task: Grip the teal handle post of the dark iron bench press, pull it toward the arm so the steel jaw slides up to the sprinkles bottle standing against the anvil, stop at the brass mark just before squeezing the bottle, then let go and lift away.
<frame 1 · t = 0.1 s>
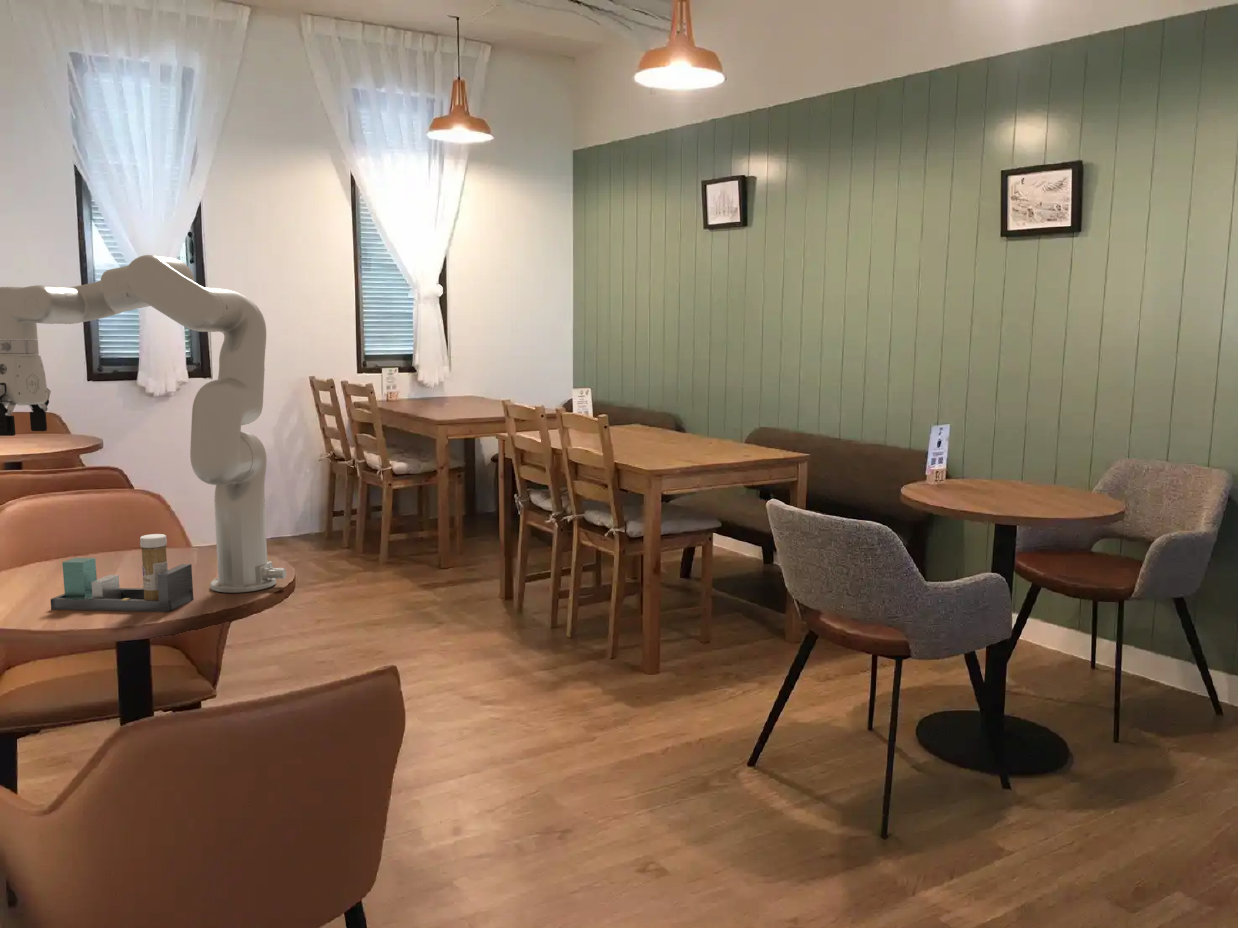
hand: (23, 433, 205), 31 cm above the table, tool pointing down, fingers open, 9 cm apart
press carriage: (90, 580, 192), point 4 cm above the table, slide at 0.0 cm
sprinkles bottle: (157, 606, 191), resting in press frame
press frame: (123, 604, 192), on the table
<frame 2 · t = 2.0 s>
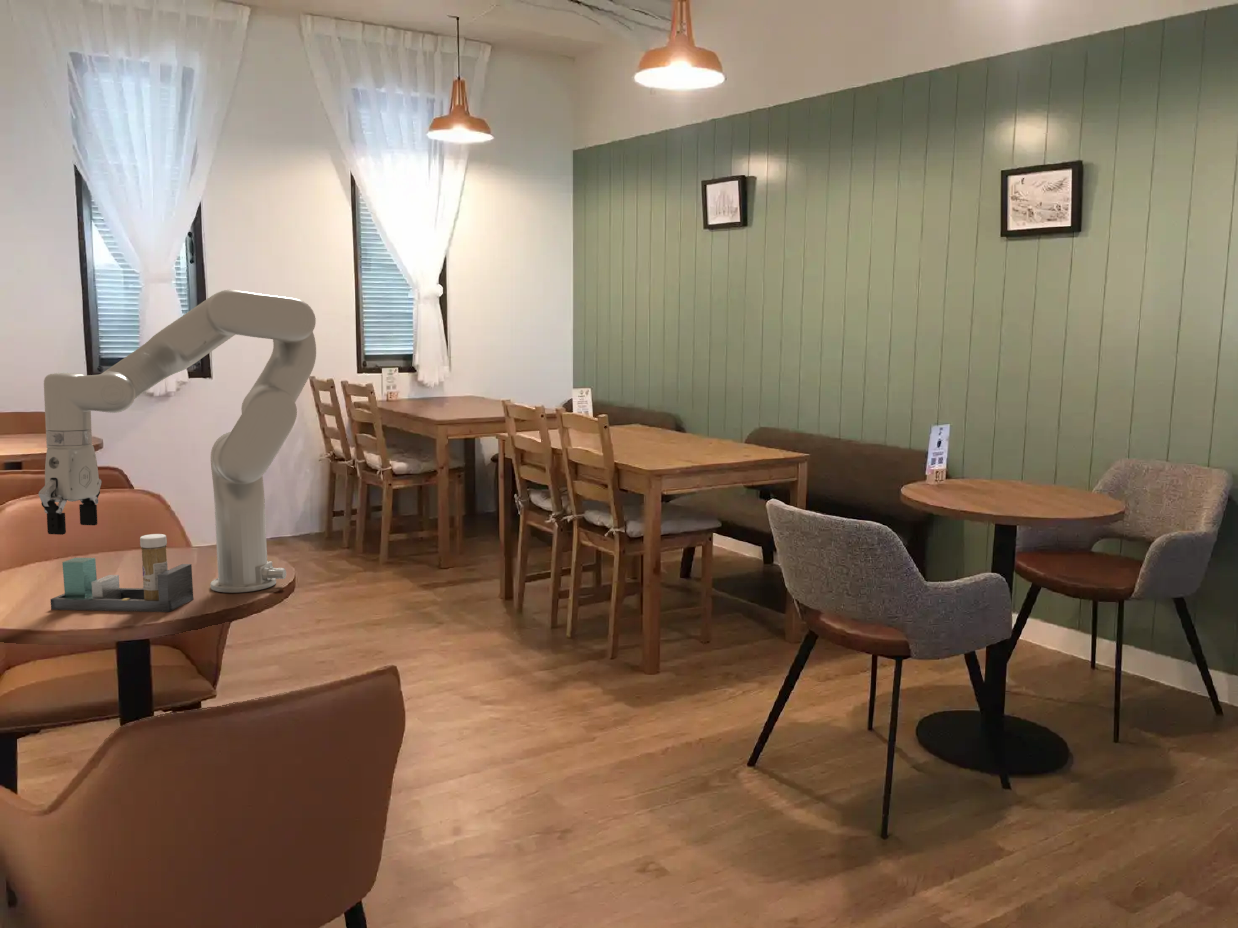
hand: (73, 529, 190), 14 cm above the table, tool pointing down, fingers open, 9 cm apart
nothing on the table moved.
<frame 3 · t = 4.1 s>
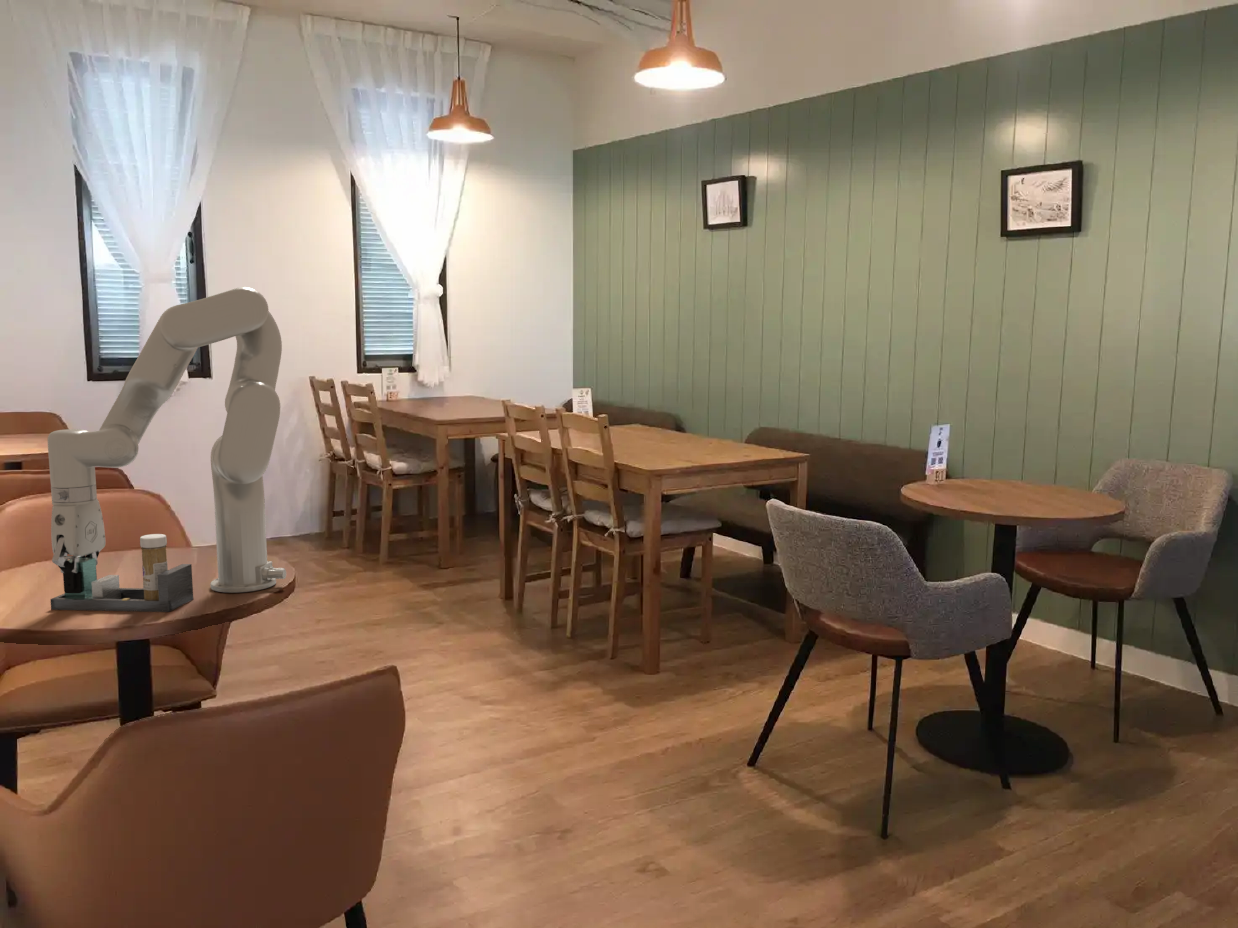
hand: (81, 588, 192), 3 cm above the table, tool pointing down, fingers closed on press carriage, 4 cm apart
press carriage: (90, 580, 192), point 5 cm above the table, slide at 0.0 cm, touching gripper
everything else where it was.
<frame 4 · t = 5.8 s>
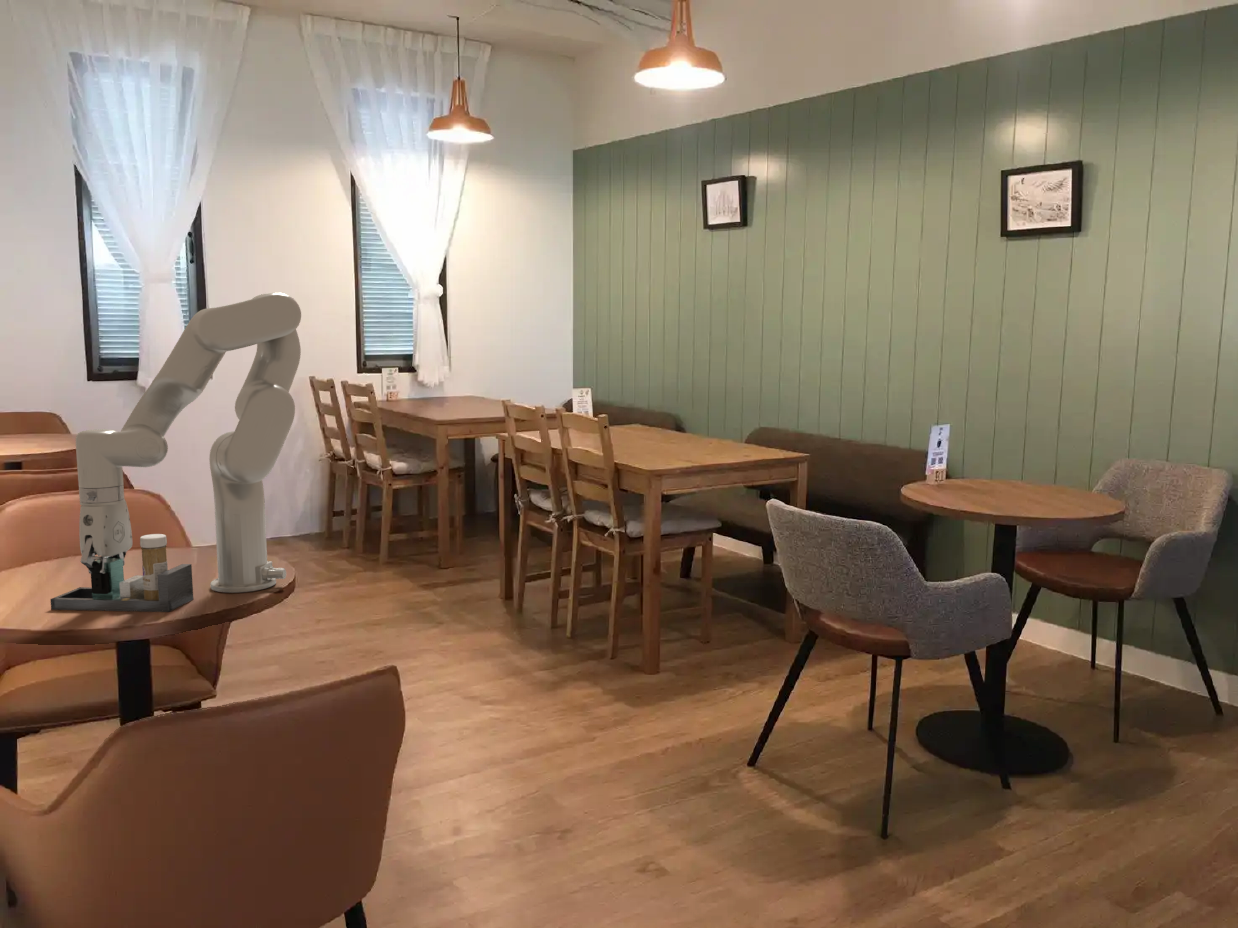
hand: (108, 589, 192), 3 cm above the table, tool pointing down, fingers closed on press carriage, 4 cm apart
press carriage: (117, 581, 191), point 4 cm above the table, slide at 5.5 cm, touching gripper
everything else where it was.
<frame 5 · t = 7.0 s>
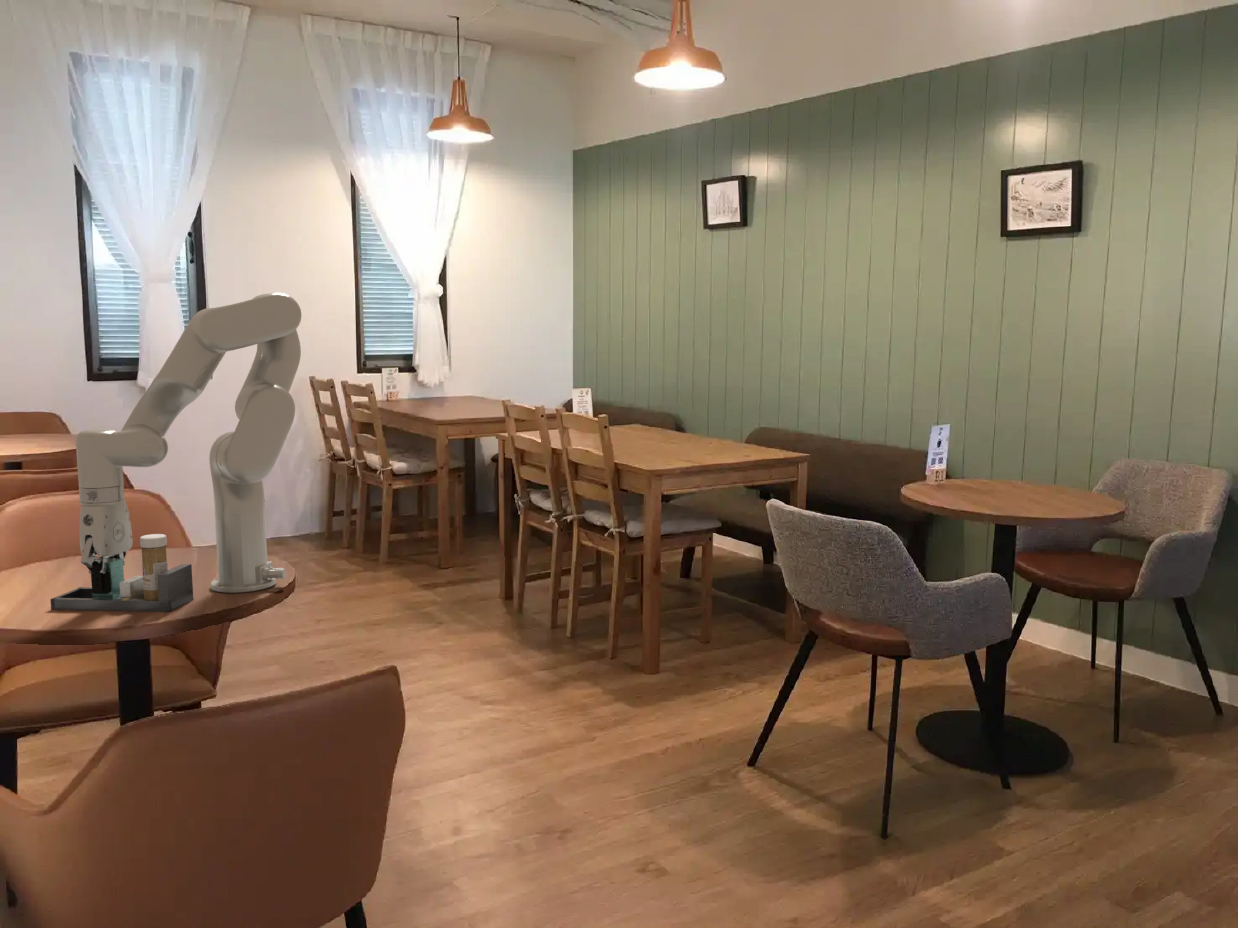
hand: (108, 589, 192), 3 cm above the table, tool pointing down, fingers closed on press carriage, 4 cm apart
press carriage: (118, 581, 191), point 5 cm above the table, slide at 5.5 cm, touching gripper
everything else where it was.
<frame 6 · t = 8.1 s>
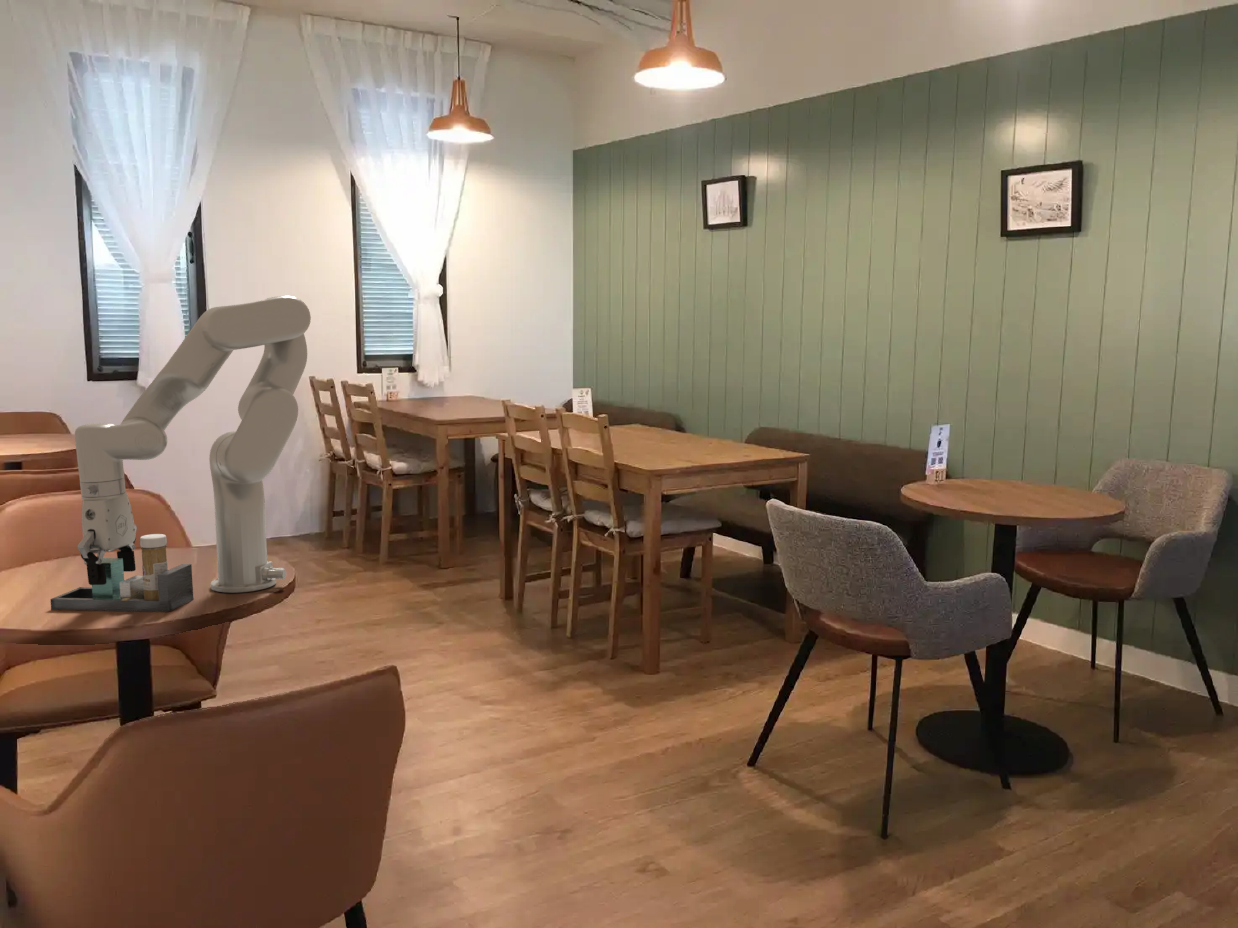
hand: (112, 577, 192), 5 cm above the table, tool pointing down, fingers open, 9 cm apart
press carriage: (118, 581, 191), point 4 cm above the table, slide at 5.5 cm
everything else where it was.
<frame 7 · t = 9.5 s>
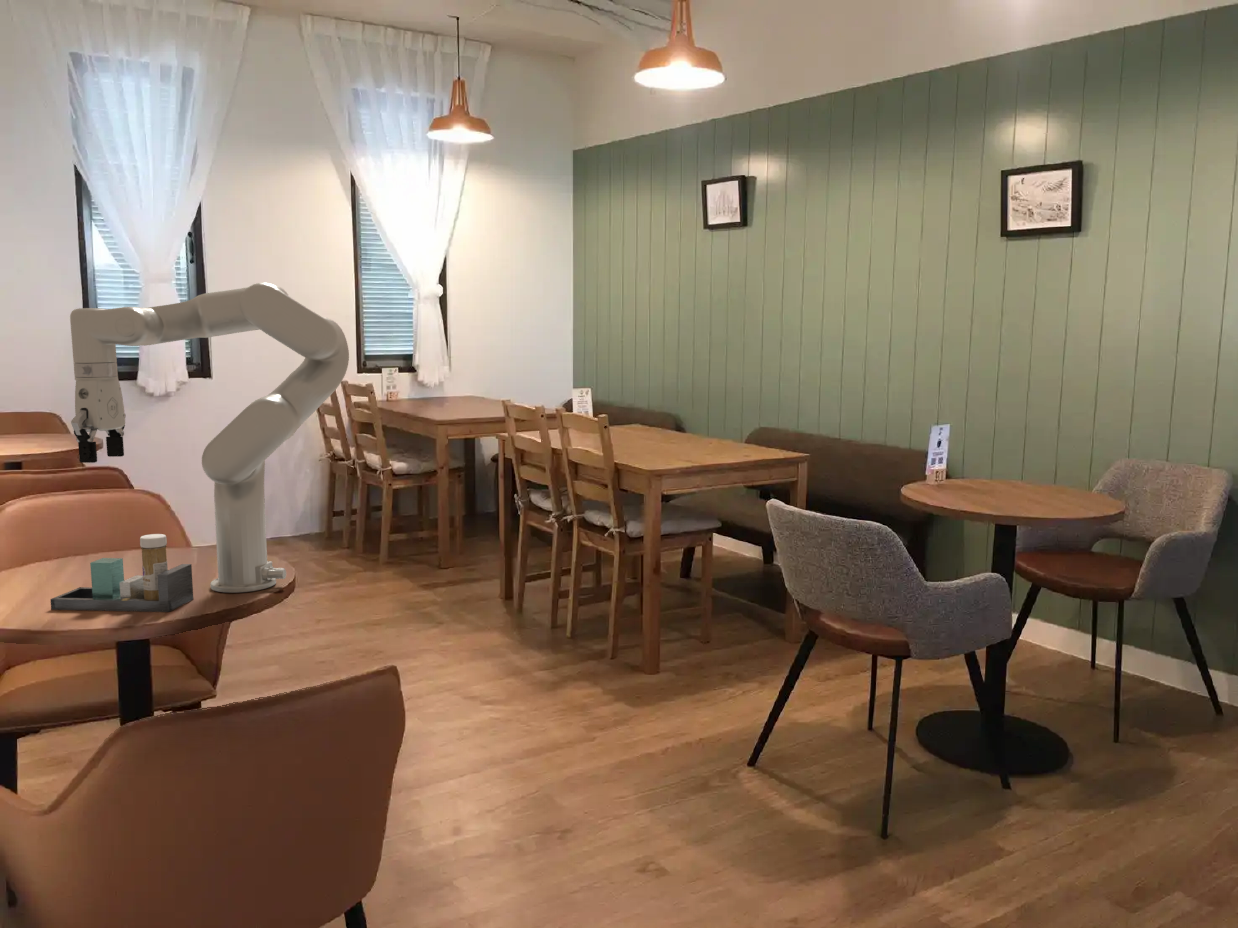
hand: (102, 459, 198), 27 cm above the table, tool pointing down, fingers open, 9 cm apart
nothing on the table moved.
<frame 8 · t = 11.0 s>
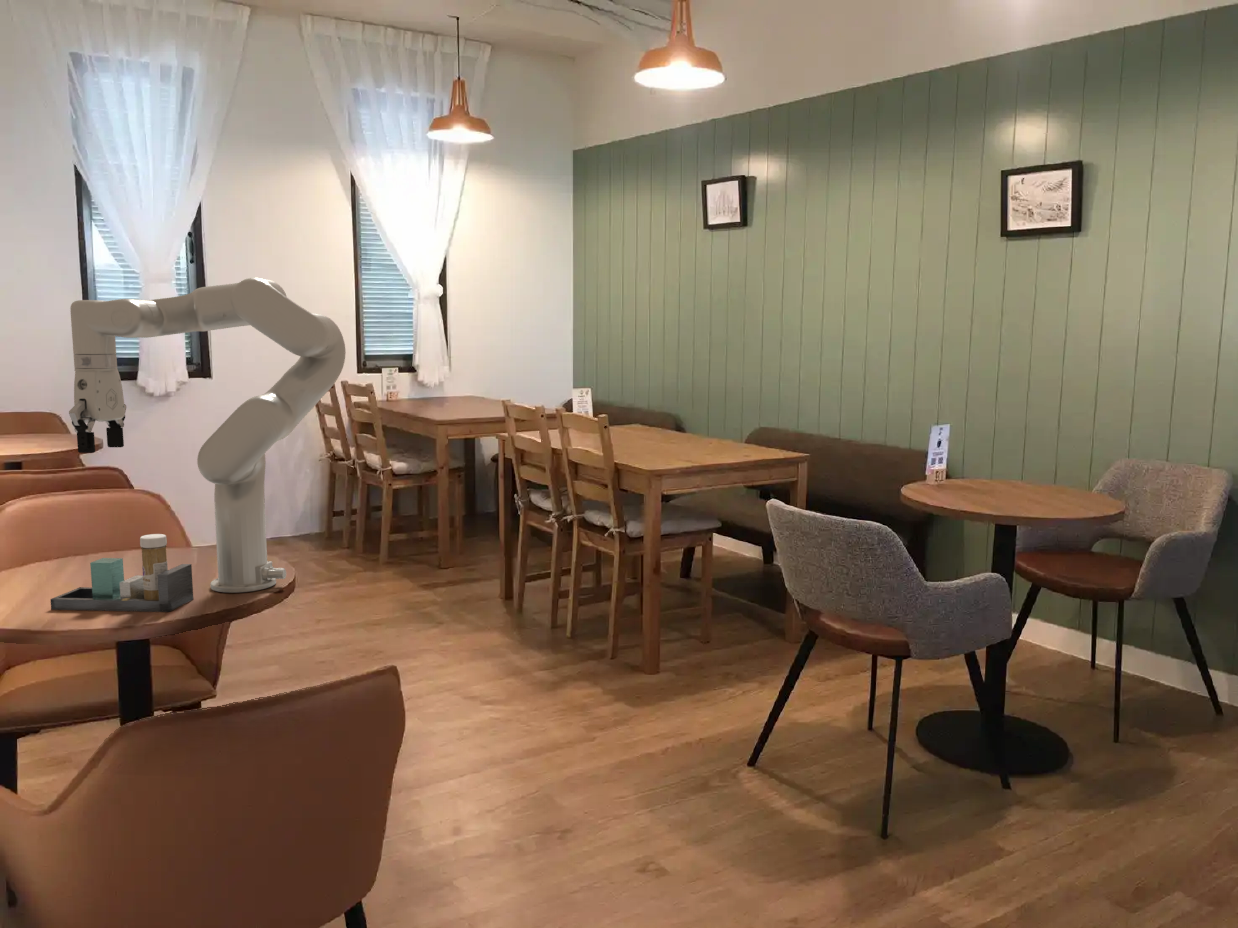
hand: (101, 449, 200), 28 cm above the table, tool pointing down, fingers open, 9 cm apart
nothing on the table moved.
at the end: press carriage slide at 5.5 cm; sprinkles bottle tilted 0°; sprinkles bottle moved 0.2 cm from its start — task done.
